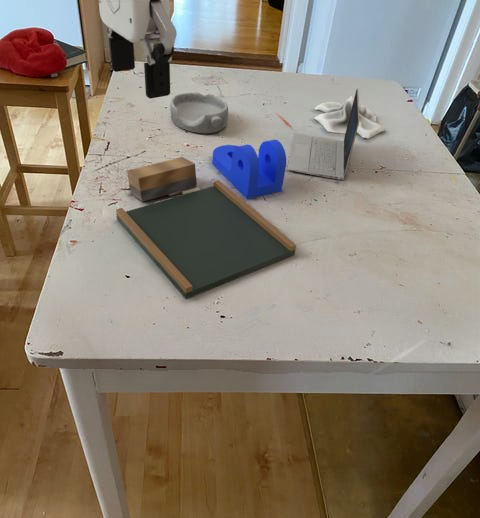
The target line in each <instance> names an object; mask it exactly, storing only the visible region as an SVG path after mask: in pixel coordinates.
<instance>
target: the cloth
mask: <svg viewBox="0 0 480 518" xmlns="http://www.w3.org/2000/svg"><path fill="white" fill-rule="evenodd" d="M354 97H355V96H353V95H351V96H350V97H348V98H347V99H346V100H345V101H343V103H339V102H336V101H327V102H322V103H319V104H318V105H317V106H316V107H314V110H316V111H321V112H323V113H320V114H317V115H316V116H315V117H313V119H314V120H315V121H316V122H318V123H319V124H320V125H321V126H322V127H323V128H324V129H325V130H326V132H328V133H334V134H343V135H345V133H346V129H347V125H348V121H349V117H350V113H351V109H352V105H353V101H354ZM385 131H386V130H385V128H384V126H383V125H381V124H380V123H378V122H377V115H376V114H375V113H374V112H373V111H372V110H371V109H369V108H368V107H366V106H365V105H364V104H361V103H359V126H358V129H357V133H356V134H358V135H359V136H360V137H361V138H363V139H368V140H369V139H370V138H372V137H375V136H376V135H378V134H380V133H382V132H385Z"/></svg>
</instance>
